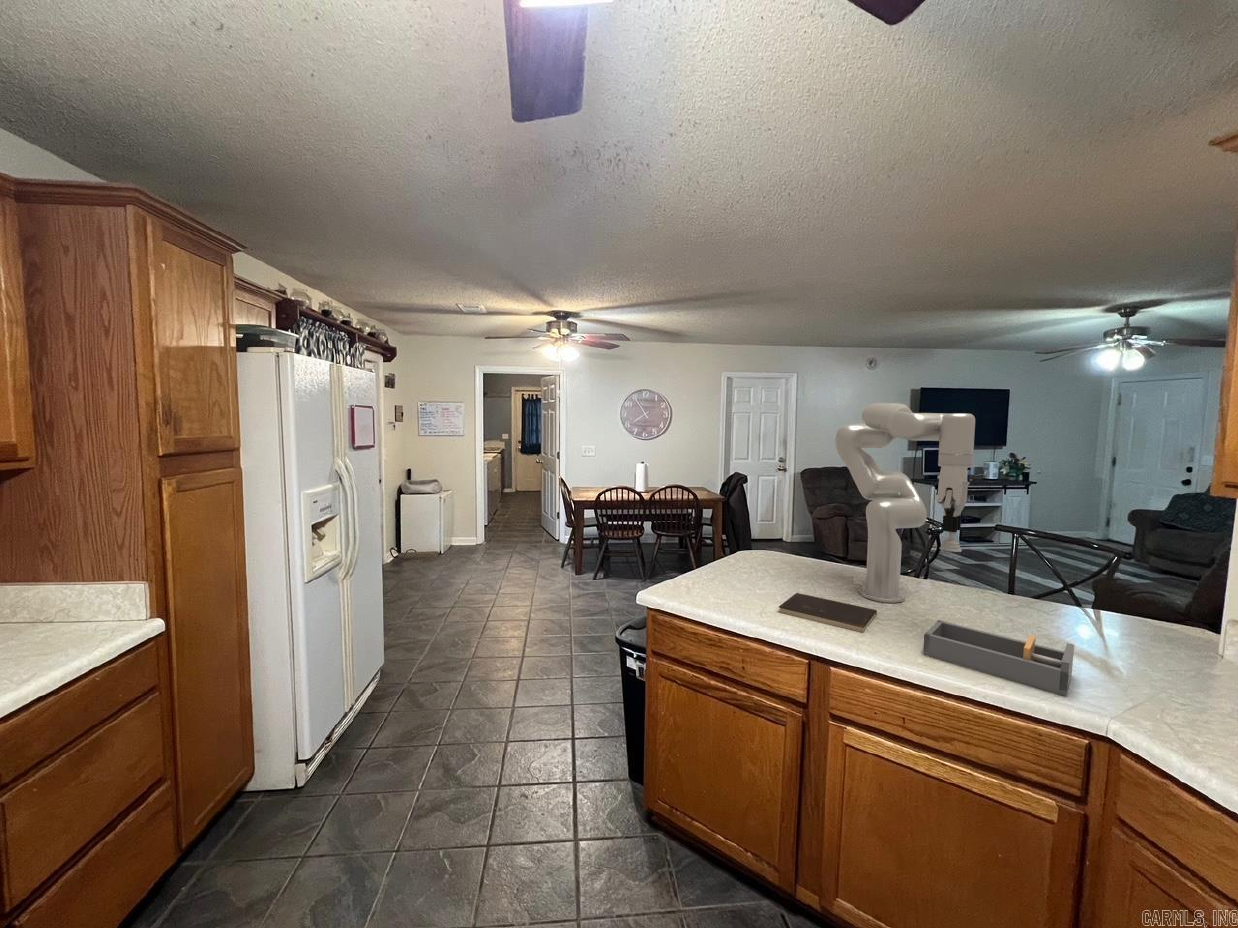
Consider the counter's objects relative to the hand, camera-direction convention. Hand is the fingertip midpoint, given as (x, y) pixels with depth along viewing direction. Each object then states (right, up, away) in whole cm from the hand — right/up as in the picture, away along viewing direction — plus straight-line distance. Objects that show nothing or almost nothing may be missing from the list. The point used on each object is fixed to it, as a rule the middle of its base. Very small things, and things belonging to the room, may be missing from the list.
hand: (951, 529), depth 134 cm
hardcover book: (-27, -27, +14) cm, 41 cm away
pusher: (+5, -28, -23) cm, 37 cm away
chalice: (0, -5, 0) cm, 5 cm away
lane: (-1, -29, -17) cm, 33 cm away
